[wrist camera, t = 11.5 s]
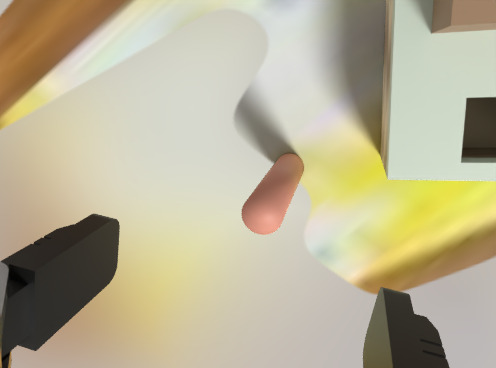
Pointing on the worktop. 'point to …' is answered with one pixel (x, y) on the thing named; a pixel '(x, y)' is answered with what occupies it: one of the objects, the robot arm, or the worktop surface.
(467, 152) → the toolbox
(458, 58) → the lid
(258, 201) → the rounded rod
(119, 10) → the worktop surface
